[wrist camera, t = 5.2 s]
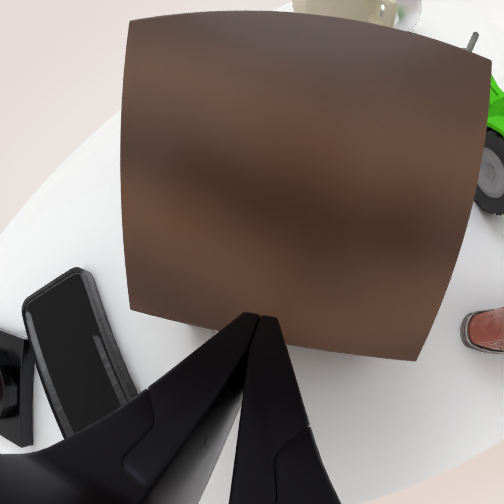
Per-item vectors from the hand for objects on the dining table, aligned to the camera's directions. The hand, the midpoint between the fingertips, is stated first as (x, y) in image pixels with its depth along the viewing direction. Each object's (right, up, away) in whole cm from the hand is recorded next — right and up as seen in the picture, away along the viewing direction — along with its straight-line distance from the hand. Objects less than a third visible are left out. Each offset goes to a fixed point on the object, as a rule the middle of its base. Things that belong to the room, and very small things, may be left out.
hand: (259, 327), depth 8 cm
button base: (-23, -10, +14) cm, 28 cm away
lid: (+1, +4, +3) cm, 5 cm away
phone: (-13, -7, +14) cm, 20 cm away
